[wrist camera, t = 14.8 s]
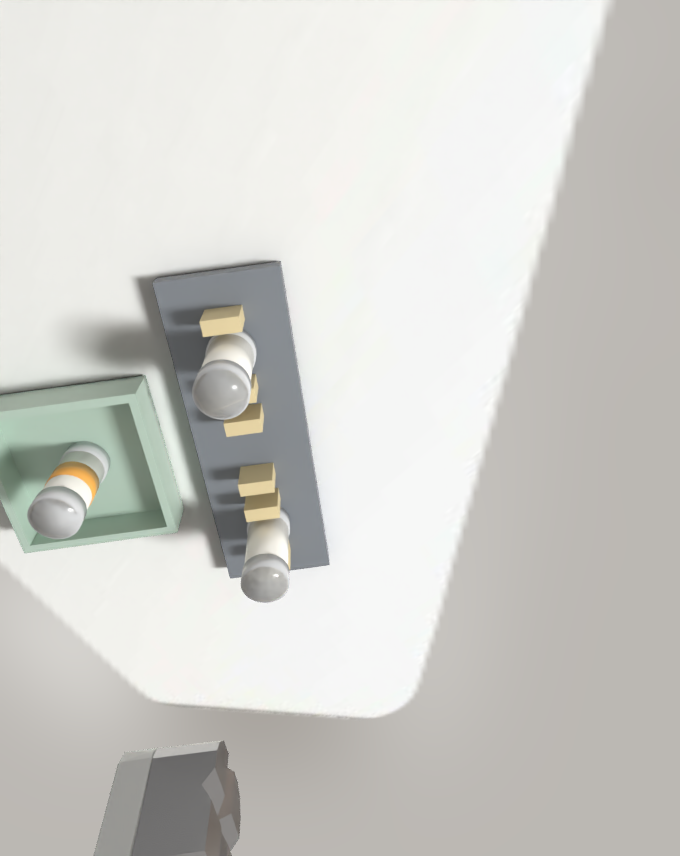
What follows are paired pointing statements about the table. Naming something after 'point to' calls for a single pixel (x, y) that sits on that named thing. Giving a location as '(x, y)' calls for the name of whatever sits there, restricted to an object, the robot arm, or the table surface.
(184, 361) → the fuse holder
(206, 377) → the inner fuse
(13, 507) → the parts tray
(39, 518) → the marked fuse
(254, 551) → the outer fuse
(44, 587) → the table surface
